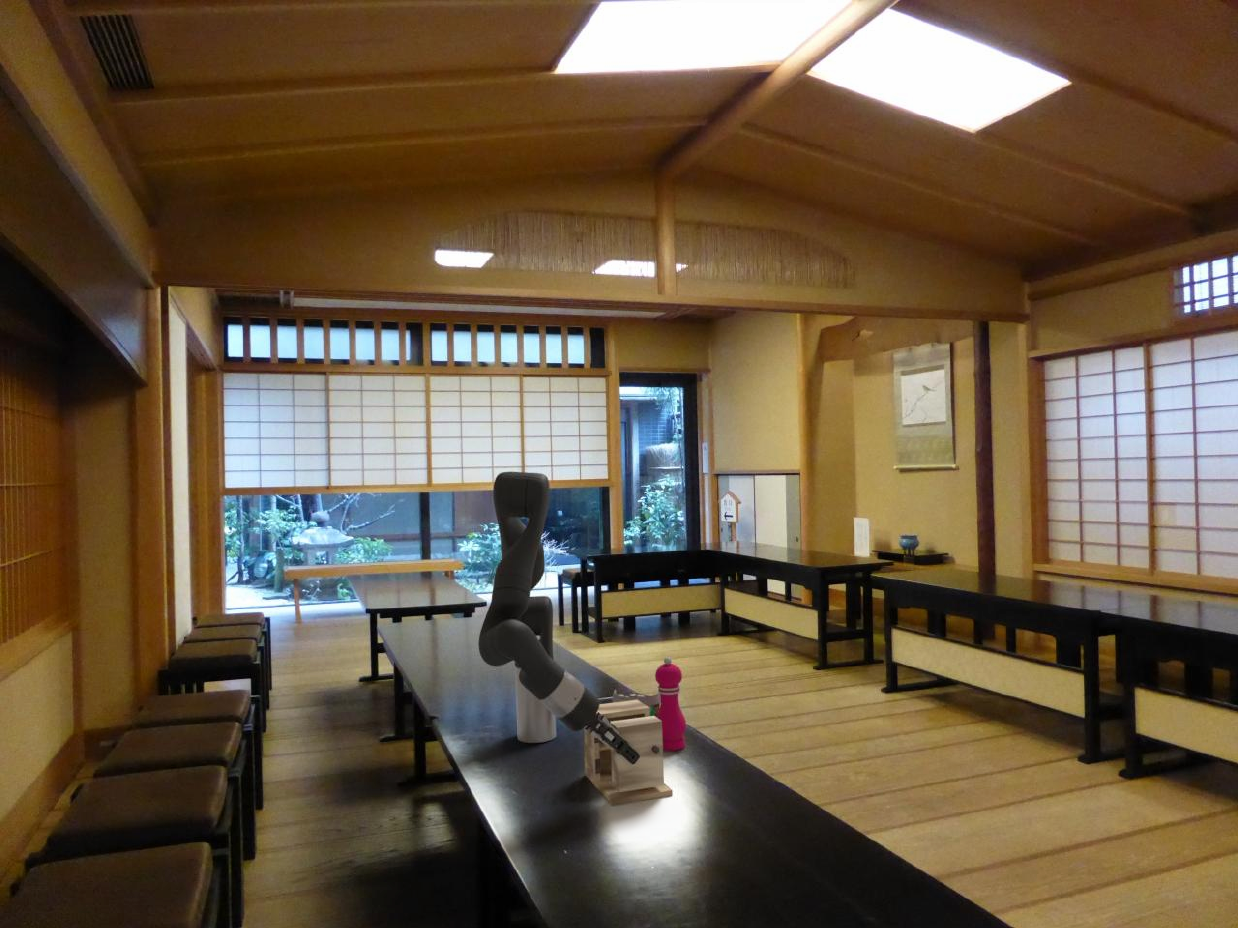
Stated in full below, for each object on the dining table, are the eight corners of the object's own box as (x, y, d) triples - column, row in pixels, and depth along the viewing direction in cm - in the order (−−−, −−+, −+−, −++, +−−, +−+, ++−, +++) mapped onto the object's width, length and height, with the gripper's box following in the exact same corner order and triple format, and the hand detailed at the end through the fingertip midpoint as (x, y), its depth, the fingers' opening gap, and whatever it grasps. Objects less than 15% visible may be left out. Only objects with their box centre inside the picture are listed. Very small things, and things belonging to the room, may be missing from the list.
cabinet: (585, 775, 170) (582, 706, 170) (639, 766, 174) (637, 699, 174) (613, 805, 154) (610, 729, 154) (672, 795, 158) (669, 721, 158)
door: (612, 784, 158) (610, 721, 158) (656, 777, 161) (654, 715, 161) (621, 794, 153) (618, 728, 153) (666, 786, 156) (663, 722, 156)
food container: (605, 738, 194) (603, 695, 194) (615, 731, 199) (613, 689, 199) (655, 743, 189) (653, 699, 189) (663, 735, 195) (662, 692, 195)
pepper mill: (685, 752, 182) (681, 660, 182) (652, 751, 183) (649, 660, 184) (689, 741, 189) (685, 653, 189) (657, 740, 191) (654, 653, 191)
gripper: (593, 692, 148) (658, 751, 152) (571, 675, 161) (631, 730, 165) (565, 726, 146) (632, 785, 150) (545, 706, 159) (607, 760, 163)
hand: (631, 756), depth 157 cm, fingers closed on door, 4 cm apart
